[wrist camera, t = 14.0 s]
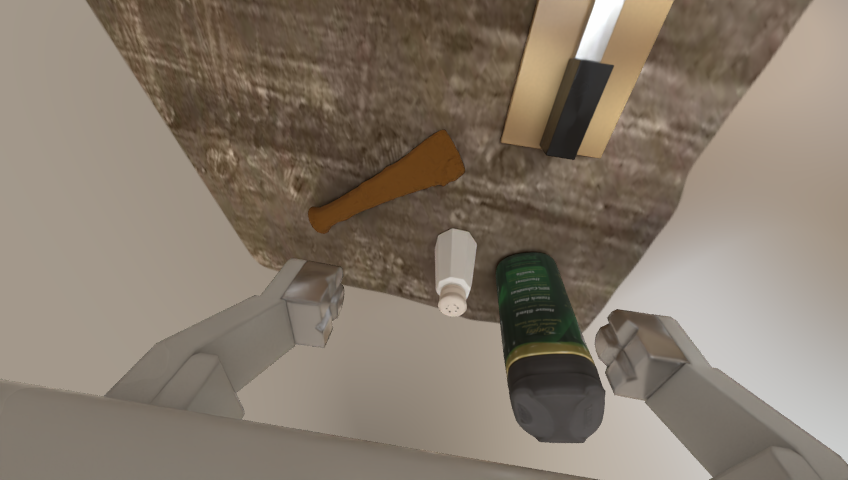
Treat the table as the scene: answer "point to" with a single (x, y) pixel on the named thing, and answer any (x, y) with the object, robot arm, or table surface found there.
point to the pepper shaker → (454, 270)
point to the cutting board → (553, 47)
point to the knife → (581, 82)
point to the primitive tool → (395, 181)
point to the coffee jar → (546, 353)
